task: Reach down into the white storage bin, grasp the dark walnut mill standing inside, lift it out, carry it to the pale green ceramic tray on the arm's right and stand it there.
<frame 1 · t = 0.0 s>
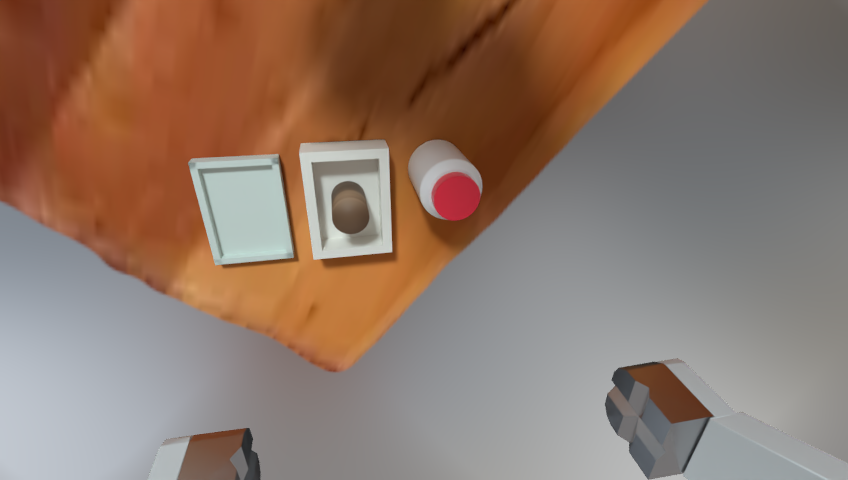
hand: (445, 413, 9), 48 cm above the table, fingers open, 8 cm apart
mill: (348, 196, 57), point 1 cm above the table, touching white storage bin
tray: (247, 208, 56), on the table
white storage bin: (348, 194, 57), on the table
pill bottle: (435, 167, 58), on the table
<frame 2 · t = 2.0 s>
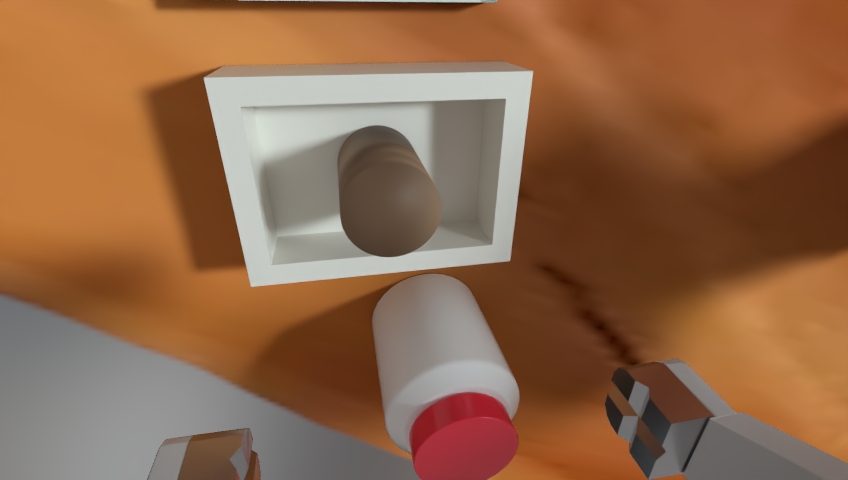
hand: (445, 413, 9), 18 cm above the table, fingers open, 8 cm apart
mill: (377, 164, 24), point 1 cm above the table, touching white storage bin
white storage bin: (376, 160, 25), on the table
pill bottle: (424, 316, 31), on the table
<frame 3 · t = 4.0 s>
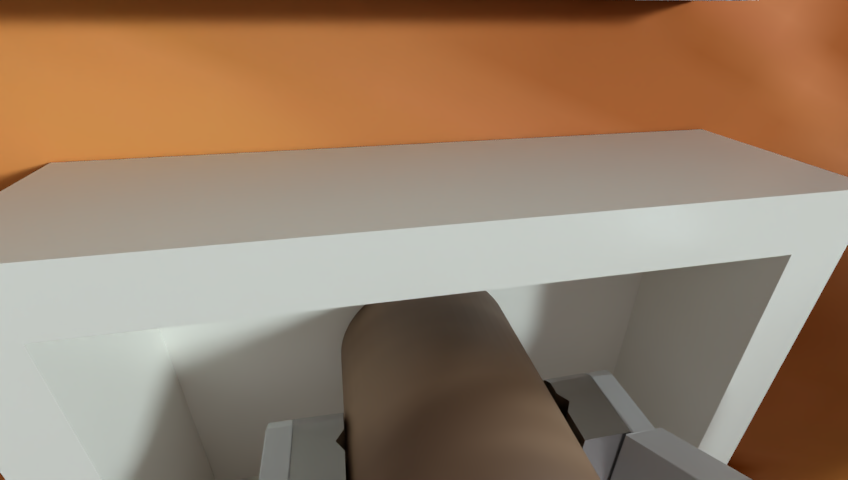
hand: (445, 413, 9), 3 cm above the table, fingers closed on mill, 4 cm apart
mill: (426, 346, 11), point 1 cm above the table, touching gripper, white storage bin
white storage bin: (419, 327, 12), on the table
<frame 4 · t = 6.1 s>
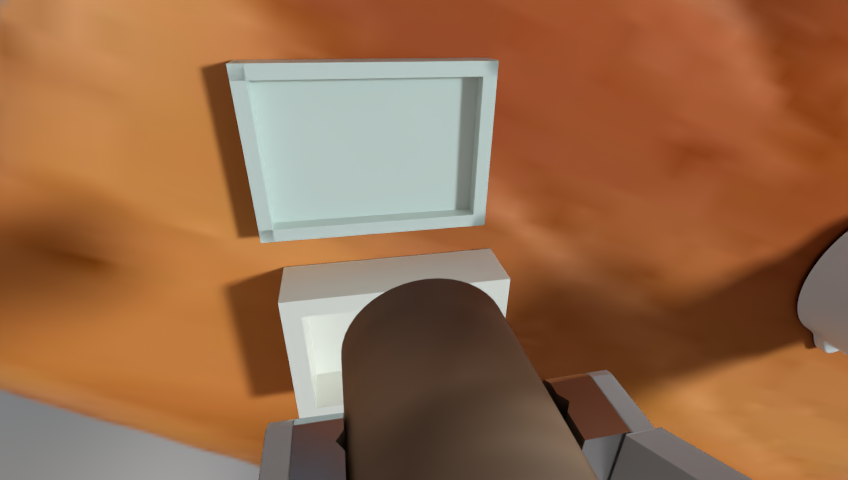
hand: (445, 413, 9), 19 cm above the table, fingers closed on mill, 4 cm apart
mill: (426, 348, 11), point 17 cm above the table, touching gripper
tray: (371, 148, 26), on the table
white storage bin: (393, 316, 32), on the table
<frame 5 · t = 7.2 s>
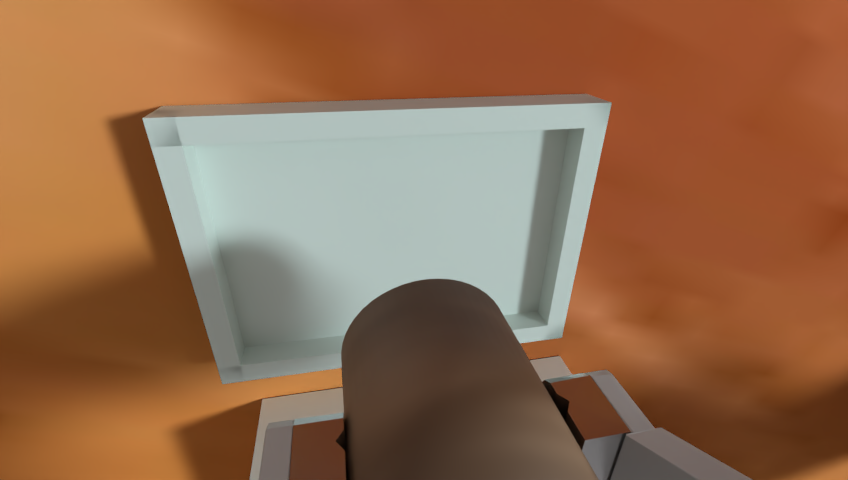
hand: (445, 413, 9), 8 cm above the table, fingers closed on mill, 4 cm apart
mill: (426, 348, 11), point 6 cm above the table, touching gripper
tray: (395, 233, 17), on the table
white storage bin: (419, 446, 23), on the table
when the fingers open (4 cm above the table, at t = 8.2 s): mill drops 2 cm, resting on tray.
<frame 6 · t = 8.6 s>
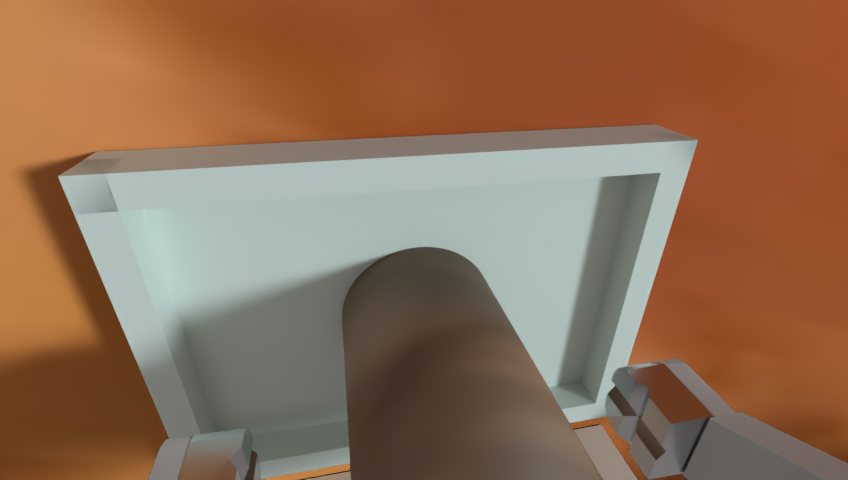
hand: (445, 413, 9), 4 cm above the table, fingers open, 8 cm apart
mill: (417, 312, 13), point 1 cm above the table, touching tray
tray: (410, 298, 13), on the table
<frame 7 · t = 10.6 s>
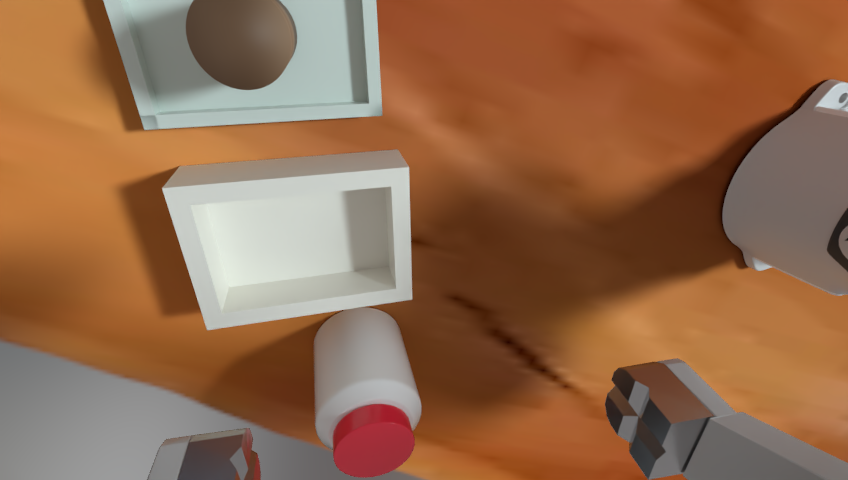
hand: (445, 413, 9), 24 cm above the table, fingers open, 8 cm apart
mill: (257, 32, 25), point 1 cm above the table, touching tray
tray: (256, 31, 25), on the table
white storage bin: (304, 225, 32), on the table
pill bottle: (358, 340, 38), on the table
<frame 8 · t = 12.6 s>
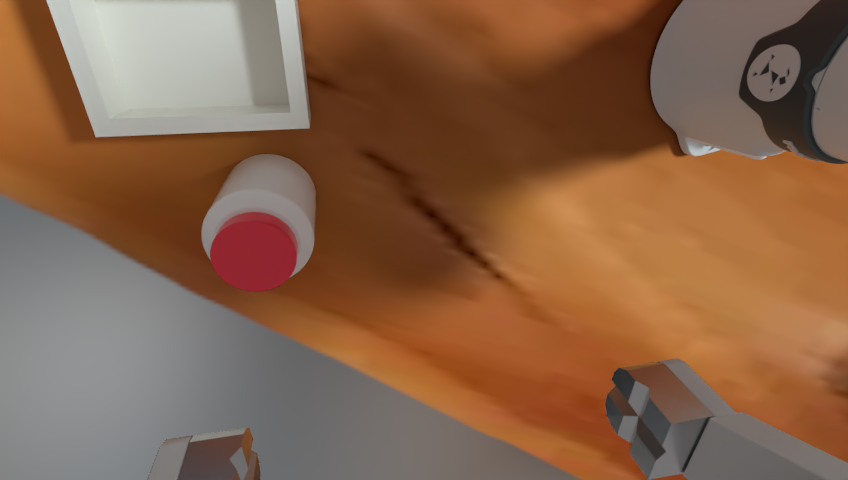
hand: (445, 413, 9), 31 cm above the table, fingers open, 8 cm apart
white storage bin: (203, 49, 32), on the table
pill bottle: (272, 194, 38), on the table
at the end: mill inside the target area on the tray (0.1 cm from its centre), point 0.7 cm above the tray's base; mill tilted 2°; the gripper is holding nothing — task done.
